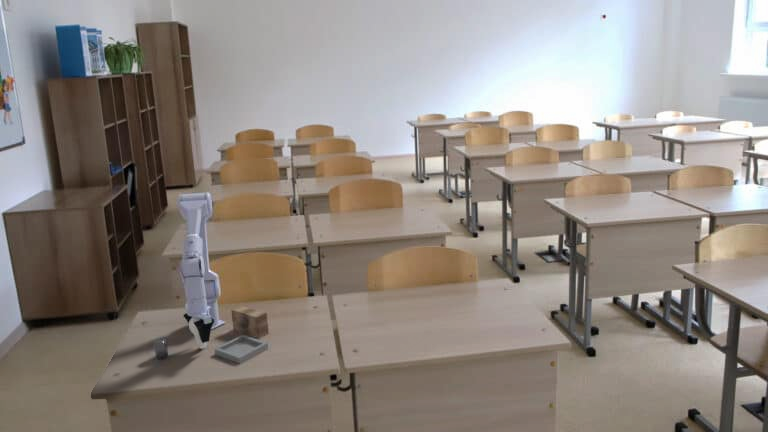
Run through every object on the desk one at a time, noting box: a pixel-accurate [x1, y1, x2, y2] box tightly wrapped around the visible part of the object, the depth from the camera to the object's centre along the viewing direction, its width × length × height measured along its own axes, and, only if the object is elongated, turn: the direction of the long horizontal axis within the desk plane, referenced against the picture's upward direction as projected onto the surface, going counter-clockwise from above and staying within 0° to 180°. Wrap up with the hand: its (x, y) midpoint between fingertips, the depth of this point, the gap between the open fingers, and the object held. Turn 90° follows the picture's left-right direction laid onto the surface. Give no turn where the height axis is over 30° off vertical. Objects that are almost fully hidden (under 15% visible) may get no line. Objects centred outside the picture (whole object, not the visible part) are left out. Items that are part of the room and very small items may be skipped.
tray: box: [214, 334, 269, 365], centre depth 189 cm, size 11×11×2 cm
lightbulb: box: [188, 317, 207, 350], centre depth 190 cm, size 6×6×11 cm
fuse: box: [153, 338, 170, 361], centre depth 187 cm, size 4×4×5 cm
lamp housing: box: [230, 305, 269, 339], centre depth 201 cm, size 12×5×7 cm, turn 54°
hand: (201, 338), depth 191 cm, fingers closed on lightbulb, 6 cm apart
